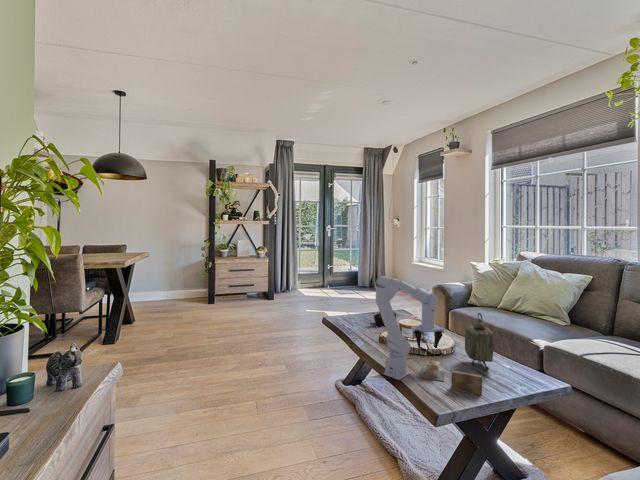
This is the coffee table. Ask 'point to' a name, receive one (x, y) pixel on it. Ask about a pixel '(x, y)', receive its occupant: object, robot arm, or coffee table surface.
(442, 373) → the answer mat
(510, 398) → the coffee table surface
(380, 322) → the film camera
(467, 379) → the walnut screen
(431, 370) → the letter block
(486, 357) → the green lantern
